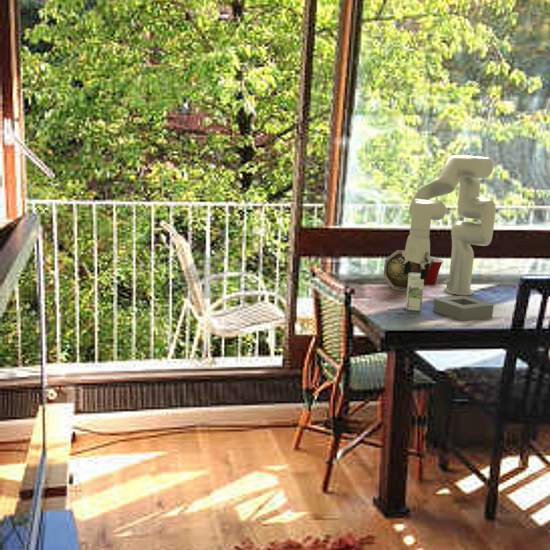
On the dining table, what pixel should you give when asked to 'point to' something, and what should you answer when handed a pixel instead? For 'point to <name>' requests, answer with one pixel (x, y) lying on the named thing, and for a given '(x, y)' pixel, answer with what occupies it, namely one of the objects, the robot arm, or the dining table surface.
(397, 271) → the potted plant
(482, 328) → the dining table surface
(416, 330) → the dining table surface
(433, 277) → the plastic cup
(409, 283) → the syrup box
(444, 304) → the socket stand
